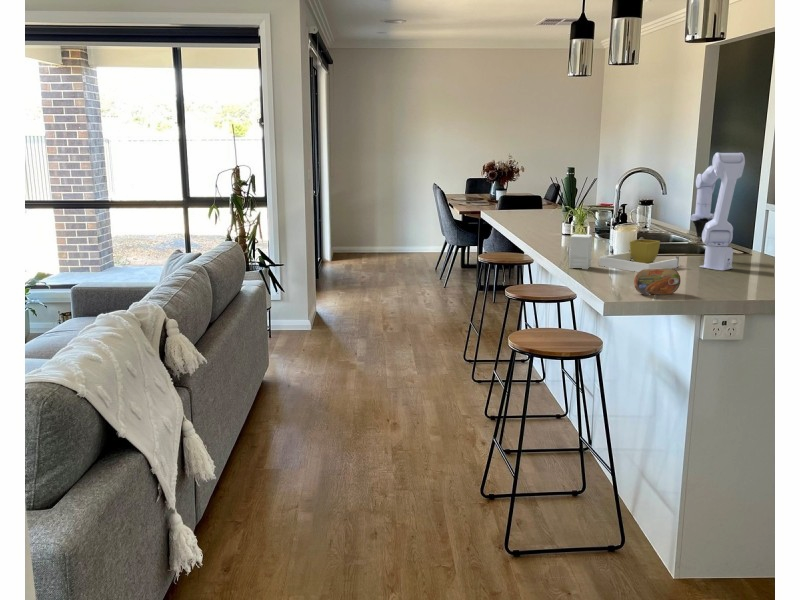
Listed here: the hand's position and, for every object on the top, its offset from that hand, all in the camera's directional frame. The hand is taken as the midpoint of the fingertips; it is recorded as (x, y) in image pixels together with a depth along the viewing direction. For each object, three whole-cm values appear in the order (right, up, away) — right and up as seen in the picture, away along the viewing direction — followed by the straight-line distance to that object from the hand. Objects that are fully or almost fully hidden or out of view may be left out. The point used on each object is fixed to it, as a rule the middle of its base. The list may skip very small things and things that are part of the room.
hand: (700, 237), depth 286 cm
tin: (-41, -24, -63) cm, 79 cm away
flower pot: (-26, -11, -6) cm, 29 cm away
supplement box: (-54, -14, -16) cm, 58 cm away
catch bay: (-30, -13, -14) cm, 36 cm away
